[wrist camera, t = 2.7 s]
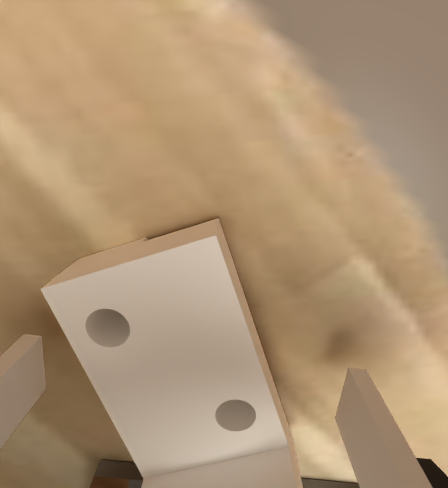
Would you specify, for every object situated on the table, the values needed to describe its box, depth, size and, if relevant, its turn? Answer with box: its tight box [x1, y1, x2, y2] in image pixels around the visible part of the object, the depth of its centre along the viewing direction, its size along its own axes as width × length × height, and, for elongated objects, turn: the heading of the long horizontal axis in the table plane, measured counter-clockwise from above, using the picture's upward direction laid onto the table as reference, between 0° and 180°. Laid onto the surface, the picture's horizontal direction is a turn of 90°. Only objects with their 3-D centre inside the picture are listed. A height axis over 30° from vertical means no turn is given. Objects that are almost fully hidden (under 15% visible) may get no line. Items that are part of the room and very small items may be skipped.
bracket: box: [40, 218, 303, 488], centre depth 14 cm, size 13×7×8 cm, turn 18°
